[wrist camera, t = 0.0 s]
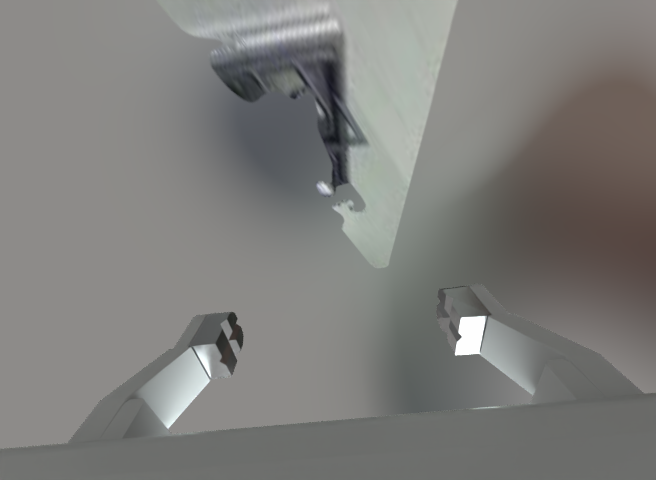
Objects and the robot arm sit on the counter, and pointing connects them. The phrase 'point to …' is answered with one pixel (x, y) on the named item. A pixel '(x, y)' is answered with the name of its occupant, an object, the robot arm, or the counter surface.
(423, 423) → the robot arm
